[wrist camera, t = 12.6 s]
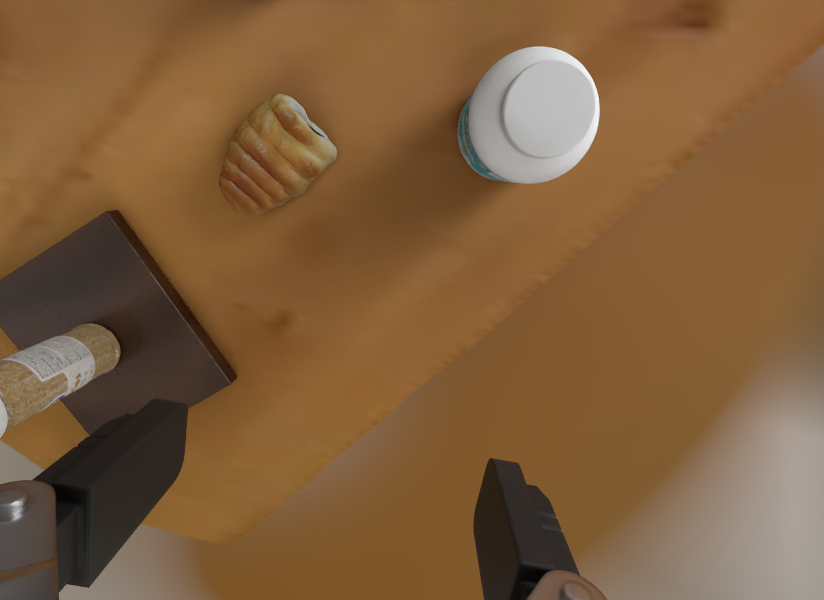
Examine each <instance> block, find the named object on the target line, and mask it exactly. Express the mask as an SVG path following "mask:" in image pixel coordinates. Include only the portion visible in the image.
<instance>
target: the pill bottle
mask: <svg viewBox="0 0 824 600" xmlns="http://www.w3.org/2000/svg"><path fill="white" fill-rule="evenodd" d="M598 122H599V98H598V93H597V90H596V87H595V84H594V82H593V80H592V78H591V76H590V74H589V73H588V71H587V70H586V69H585V67H584V66H583V65H582V64H581V63H580V62H579V61H577V60H576V59H575V58H574V57H572V56H571V55H569V54H567V53H565V52H563V51H561V50H558V49H554V48H550V47H528V48H524V49H520V50H518V51H515V52H513V53H510V54H508V55H507V56H505V57H503V58H502V59H500V60H499V61H498V62H496V63H495V64H494V65H493V66H492V67H491V68H490V69H489V70H488V71H487V72H486V74H485V75H484V76H483V77H482V79H481V80H480V82H479V83H478V85H477V87H476V88H475V90H474V91H473V93H472V95H471V96H470V97H469V99H468V100H467V102H466V104H465V106H464V107H463V109H462V112H461V115H460V118H459V123H458V143H459V146H460V150H461V153H462V155H463V157H464V158H465V160H466V161H467V163H468V164H469V165H470V167H471V168H472V169H474V170H475V171H476V172H477V173H479V174H480V175H482V176H484V177H486V178H489V179H492V180H496V181H503V182H513V183H524V184H534V183H542V182H546V181H549V180H552V179H554V178H557V177H559V176H561V175H563V174H564V173H566V172H567V171H569V170H570V169H571V168H573V167H574V166H575V165H576V164H577V163H578V162H579V161H580V160H581V159H582V157H583V156H584V155H585V154H586V152H587V151H588V149H589V147H590V145H591V143H592V142H593V139H594V137H595V134H596V131H597V127H598Z"/></svg>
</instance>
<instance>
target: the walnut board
mask: <svg viewBox="0 0 824 600" xmlns="http://www.w3.org/2000/svg"><path fill="white" fill-rule="evenodd" d="M89 323H93V324H98V325H100V326H103V327H105V328H106V329H107V330H109V331H110V332H112V333H113V335H114V336H115V337H116V339H117V341H118V343H119V345H120V351H121V354H120V358H119V361H118V363H117V365H116V366H115V367H114V368H113V369H112V370H110V371H109V372H107V373H104V374H101V375H99V376H97V377H96V378H94V379H93V380H91V381H89V382H88V383H87V384H85V385H84V386H82V387H81V388H79V389H77V390H76V391H74V392H72V393H70V394H69V395H67V396H65V397H64V398H62V399H60V400H61V401H62V402H63V403H64V405H65V406H66V407H67V408H68V409H69V411H70V412H71V413H72V414H73V416H74V417H75V418H76V419H77V420H78V422H79V423H80V424H81V425H82V426H83V428H84V429H85V430H86V431H87V433H88V434H89V435H90V436H91V434H92V433H93V432H95V431H96V430H97V429H98V428H100V427H101V426H102V425H104V424H105V423H106V422H108V421H111V420H113V419H116V418H118V417H120V416H123V415H125V414H133V415H134V414H136V413H137V412H138V411H139V410H141V409H142V408H143V407H144V406H145V405H147V404H148V403H149V402H150V401H151V400H153V399H155V398H158V399H163V400H169V401H175V402H180V403H185V404H186V405H187V409H188V408H189V407H191V406H193V405H195V404H197V403H198V402H200V401H202V400H204V399H205V398H207V397H209V396H211V395H213V394H214V393H216V392H218V391H220V390H221V389H223V388H225V387H227V386H229V385H230V384H232V382H233V381H234V380H235V379H236V378H237V376H236V375H235V373H234V372H233V370H232V369H231V368H230V366H229V365H228V363H227V362H226V361H225V359H224V358H223V356H222V355H221V354H220V352H219V351H218V349H217V348H216V347H215V345H214V344H213V342H212V341H211V340H210V338H209V337H208V336H207V334H206V333H205V331H204V330H203V329H202V327H201V326H200V324H199V323H198V322H197V320H196V319H195V317H194V316H193V315H192V313H191V312H190V310H189V309H188V308H187V306H186V305H185V303H184V302H183V301H182V299H181V298H180V296H179V295H178V294H177V292H176V291H175V289H174V288H173V287H172V285H171V284H170V283H169V281H168V280H167V278H166V277H165V276H164V274H163V273H162V271H161V270H160V269H159V267H158V266H157V264H156V263H155V262H154V260H153V259H152V257H151V256H150V255H149V253H148V252H147V250H146V249H145V248H144V246H143V245H142V243H141V242H140V241H139V239H138V238H137V236H136V235H135V234H134V232H133V231H132V230H131V228H130V227H129V225H128V224H127V223H126V221H125V220H124V218H123V217H122V216H121V214H120V213H119V211H118V210H115V211H106V212H104V213H103V214H101V215H100V216H98V217H97V218H95V219H94V220H92V221H91V222H89V223H87V224H86V225H84V226H83V227H81V228H80V229H78V230H77V231H75V232H74V233H72V234H71V235H69V236H68V237H66V238H64V239H63V240H61V241H60V242H58V243H57V244H55V245H54V246H52V247H51V248H49V249H48V250H46V251H45V252H43V253H41V254H40V255H38V256H37V257H35V258H34V259H32V260H31V261H29V262H28V263H26V264H25V265H23V266H22V267H20V268H18V269H17V270H15V271H14V272H12V273H11V274H9V275H8V276H6V277H5V278H3V279H2V280H0V327H1V328H2V329H3V331H4V332H5V333H6V334H7V336H8V337H9V338H10V339H11V340H12V342H13V343H14V344H15V345H16V346H17V348H18V349H19V350H20V351H22V350H25V349H27V348H29V347H32V346H34V345H36V344H39V343H41V342H43V341H46V340H48V339H51V338H53V337H56V336H60V335H62V334H65V333H67V332H69V331H72V330H73V329H74V328H75V327H77V326H79V325H82V324H89Z"/></svg>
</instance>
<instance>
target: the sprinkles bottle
mask: <svg viewBox="0 0 824 600" xmlns="http://www.w3.org/2000/svg"><path fill="white" fill-rule="evenodd" d="M120 354H121V351H120V345H119V343H118V341H117V339H116V337H115V336H114V335H113V333H112V332H110V331H109V330H107V329H106V328H105V327H103V326H100V325H98V324H93V323H89V324H82V325H79V326H77V327H75V328H74V329H73V330H72V331H69V332H67V333H65V334H62V335H60V336H56V337H53V338H51V339H48V340H46V341H43V342H41V343H39V344H36V345H34V346H32V347H29V348H27V349H25V350H22V351H20V352H18V353H15V354H13V355H11V356H8V357H6V358H4V359H1V360H0V438H1V436H2V435H3V434H4V433H5V432H6V431H8V430H10V429H11V428H12V427H14V426H16V425H18V424H19V423H21V422H22V421H24V420H26V419H27V418H29V417H31V416H32V415H34V414H36V413H38V412H40V411H42V410H44V409H45V408H47V407H49V406H50V405H52V404H54V403H55V402H57V401H59V400H60V399H62V398H64V397H65V396H67V395H69V394H70V393H72V392H74V391H76V390H77V389H79V388H81V387H82V386H84V385H85V384H87V383H88V382H89V381H91V380H93V379H94V378H96V377H97V376H99V375H101V374H104V373H107V372H109V371H110V370H112V369H113V368H114V367H115V366H116V365H117V363H118V361H119V358H120Z"/></svg>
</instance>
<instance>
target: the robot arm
mask: <svg viewBox="0 0 824 600" xmlns="http://www.w3.org/2000/svg"><path fill="white" fill-rule="evenodd" d="M187 414H188V409H187V405H186V404H185V403H180V402H175V401H169V400H163V399H158V398H155V399H153V400H151V401H150V402H149V403H148V404H147V405H145V406H144V407H143V408H142V409H141V410H139V411H138V412H137V413H136V414H134V415H133V414H125V415H123V416H120V417H118V418H116V419H113V420H111V421H108V422H106V423H105V424H104V425H102V426H101V427H100V428H98V429H97V430H96V431H95V432H93V433H92V434H91V436H90V437H87V438H86V439H84V440H83V441H82V442H80V443H79V444H78V446H77V447H74V448H73V449H71V450H70V451H69V452H68V453H66V454H65V455H64V456H62V457H61V458H60V459H59V460H57V461H56V462H55V463H54V464H52V465H51V466H50V467H48V468H47V469H46V470H45V471H43V472H42V473H41V474H40V475H38V476H37V477H36V478H34V479H33V480H24V481H14V482H8V483H4V484H0V600H59V592H60V591H61V589H63V587H64V586H65V585H66V584H69V585H76V586H82V587H88V588H89V587H90V586H91V584H92V583H93V582H94V581H95V579H96V578H97V577H98V576H99V574H100V573H101V572H102V571H103V569H104V568H105V567H106V566H107V565H108V563H109V562H110V561H111V560H112V558H113V557H114V556H115V555H116V553H117V552H118V551H119V550H120V548H121V547H122V546H123V545H124V543H125V542H126V541H127V540H128V539H129V537H130V536H131V535H132V534H133V532H134V531H135V530H136V529H137V527H138V526H139V525H140V524H141V522H142V521H143V520H144V519H145V517H146V516H147V515H148V514H149V512H150V511H151V510H152V509H153V508H154V506H155V505H156V504H157V503H158V501H159V500H160V499H161V498H162V496H163V495H164V494H165V493H166V491H167V490H168V489H169V488H170V486H171V485H172V484H173V483H174V481H175V480H176V478H177V477H178V475H179V472H180V470H181V467H182V464H183V460H184V454H185V441H186V427H187ZM474 538H475V543H476V550H477V557H478V563H479V570H480V576H481V583H482V589H483V596H484V600H607V599H606V598H605V596H604V595H603V594H602V592H601V591H600V590H599V589H598V588H597V587H596V586H594V585H593V584H592V583H591V582H589V581H588V580H587V579H585V578H583V577H581V576H580V575H579V572H578V569H577V567H576V564H575V562H574V560H573V557H572V555H571V552H570V550H569V547H568V545H567V542H566V540H565V537H564V535H563V533H562V532H561V527H560V525H559V523H558V520H557V519H556V515H555V513H554V510H553V508H552V505H551V503H550V501H549V499H548V498H547V497H546V496H545V495H544V494H543V493H542V492H541V491H540V489H539V488H538V487H537V486H532V485H527V484H526V482H525V479H524V476H523V473H522V471H521V468H520V465H519V464H518V463H515V462H509V461H503V460H497V459H492V458H490V459H489V461H488V463H487V466H486V470H485V474H484V477H483V481H482V485H481V489H480V493H479V497H478V500H477V504H476V509H475V515H474Z"/></svg>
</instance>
